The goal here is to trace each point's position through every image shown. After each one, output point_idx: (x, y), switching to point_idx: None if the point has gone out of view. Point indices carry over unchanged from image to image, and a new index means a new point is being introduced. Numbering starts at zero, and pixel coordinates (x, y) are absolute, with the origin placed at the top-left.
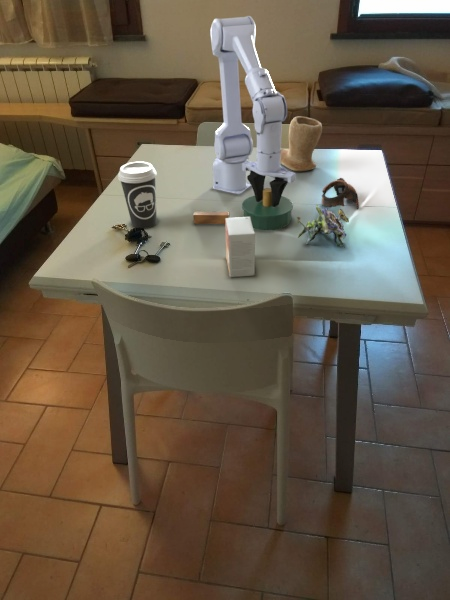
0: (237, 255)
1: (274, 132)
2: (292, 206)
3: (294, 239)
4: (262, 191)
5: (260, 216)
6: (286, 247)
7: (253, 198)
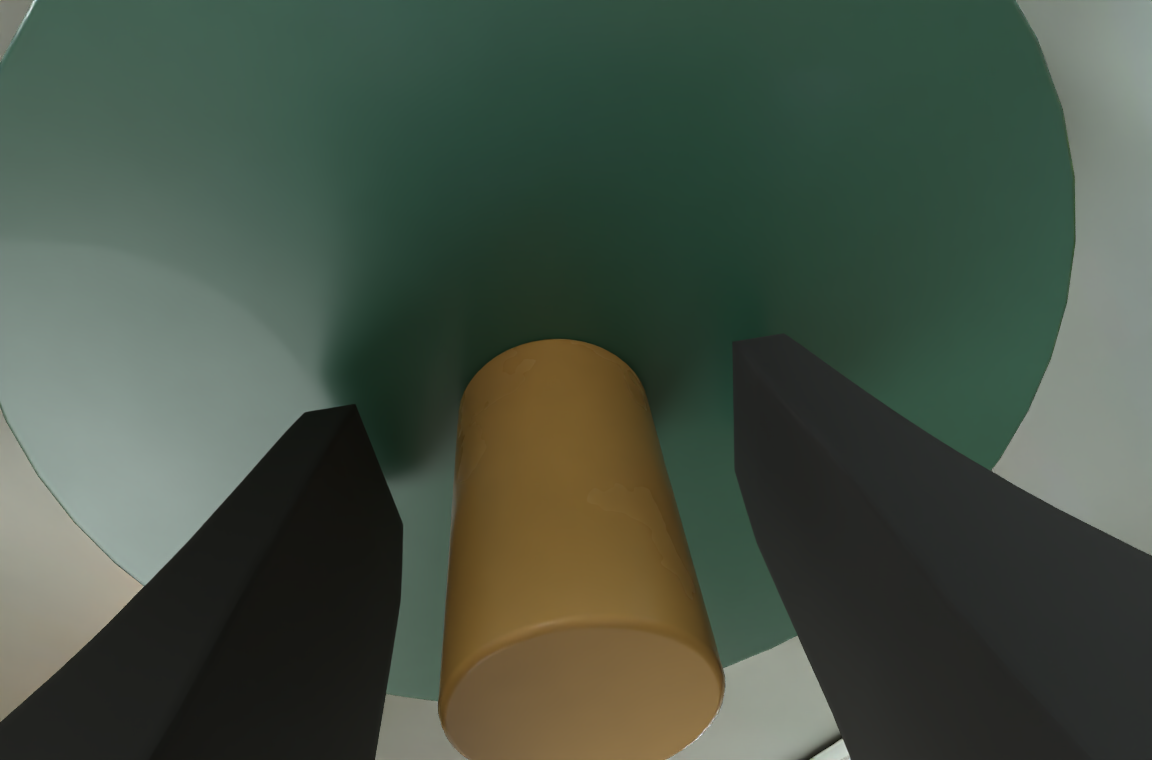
0: None
1: None
2: (1059, 130)
3: (1092, 356)
4: (306, 555)
5: (728, 656)
6: (1066, 499)
7: (124, 426)
